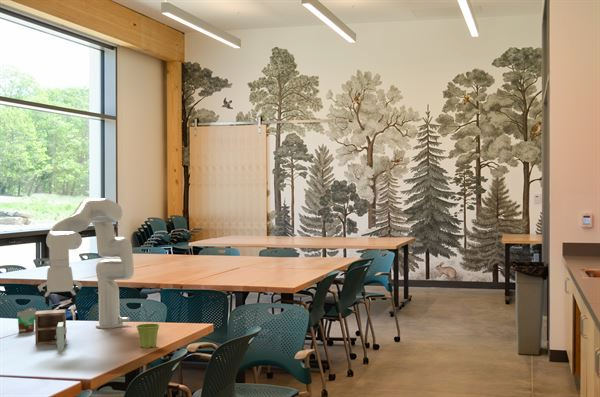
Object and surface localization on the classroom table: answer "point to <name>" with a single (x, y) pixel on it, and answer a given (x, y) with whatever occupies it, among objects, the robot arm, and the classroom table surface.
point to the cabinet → (48, 325)
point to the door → (61, 336)
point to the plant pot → (148, 334)
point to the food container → (26, 320)
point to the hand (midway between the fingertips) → (60, 305)
